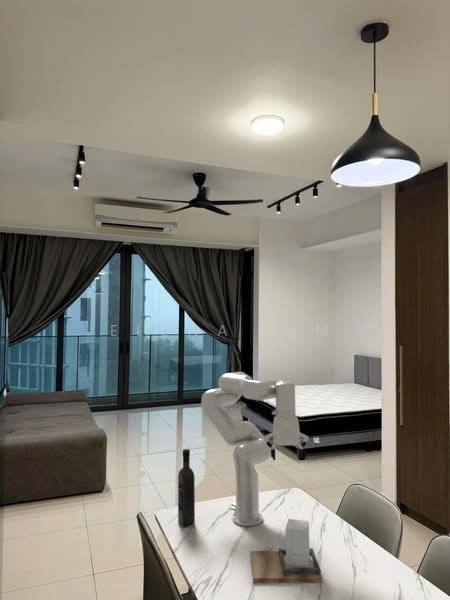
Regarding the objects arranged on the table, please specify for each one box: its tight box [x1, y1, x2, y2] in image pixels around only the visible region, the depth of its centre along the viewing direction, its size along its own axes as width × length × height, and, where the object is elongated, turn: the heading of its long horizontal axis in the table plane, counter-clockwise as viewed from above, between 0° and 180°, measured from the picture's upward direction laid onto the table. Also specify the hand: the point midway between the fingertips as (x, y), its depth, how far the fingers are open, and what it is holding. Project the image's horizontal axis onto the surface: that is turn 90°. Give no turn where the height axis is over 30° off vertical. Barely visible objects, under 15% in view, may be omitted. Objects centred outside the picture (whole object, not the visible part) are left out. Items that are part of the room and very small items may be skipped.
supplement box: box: [284, 518, 311, 568], centre depth 143 cm, size 7×7×13 cm
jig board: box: [249, 547, 323, 584], centre depth 143 cm, size 22×16×3 cm
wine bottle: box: [177, 448, 196, 528], centre depth 175 cm, size 6×6×30 cm
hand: (286, 459), depth 163 cm, fingers open, 9 cm apart
